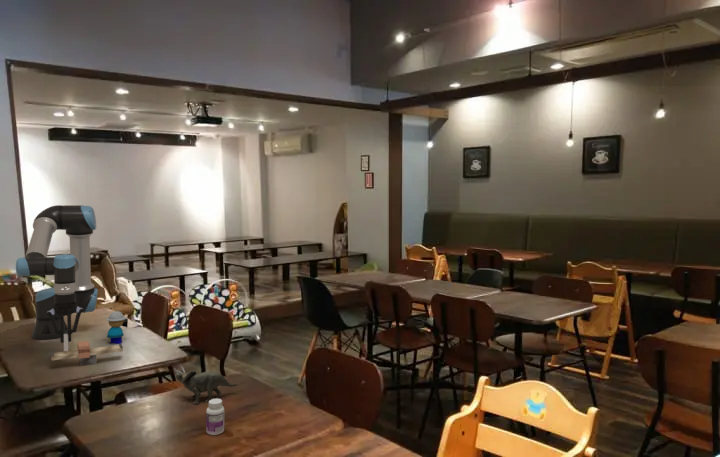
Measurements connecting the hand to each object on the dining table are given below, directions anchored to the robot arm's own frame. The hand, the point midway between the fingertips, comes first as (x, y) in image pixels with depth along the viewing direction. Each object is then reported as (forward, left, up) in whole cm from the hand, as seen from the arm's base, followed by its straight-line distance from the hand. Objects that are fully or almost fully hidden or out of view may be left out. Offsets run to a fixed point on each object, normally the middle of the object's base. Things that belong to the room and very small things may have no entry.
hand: (65, 349), depth 209 cm
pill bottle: (+92, -10, -7) cm, 93 cm away
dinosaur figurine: (+72, +6, -7) cm, 73 cm away
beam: (+4, +7, -7) cm, 10 cm away
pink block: (+3, +5, -3) cm, 7 cm away
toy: (-12, +32, -7) cm, 35 cm away
